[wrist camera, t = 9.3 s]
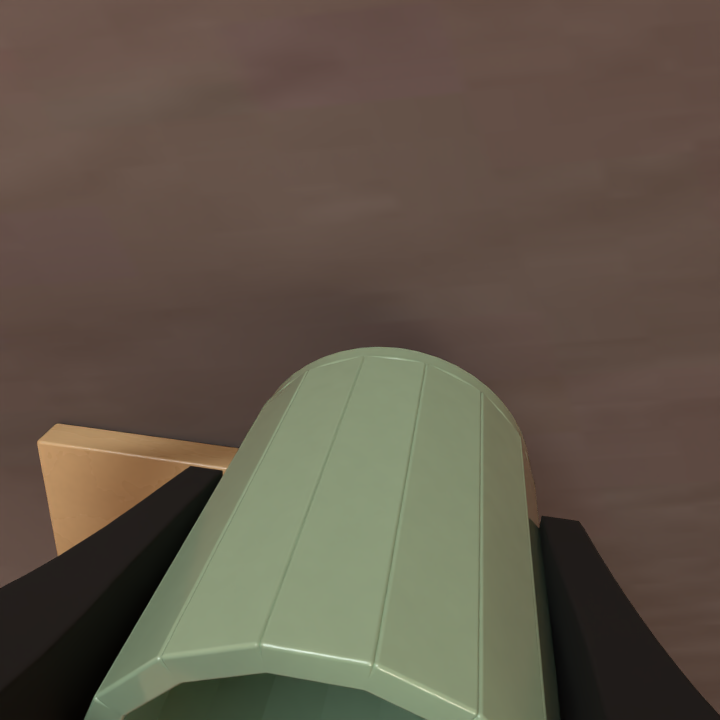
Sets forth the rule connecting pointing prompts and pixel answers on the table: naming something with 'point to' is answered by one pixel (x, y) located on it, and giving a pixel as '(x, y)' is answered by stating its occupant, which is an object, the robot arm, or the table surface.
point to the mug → (355, 563)
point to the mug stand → (110, 474)
